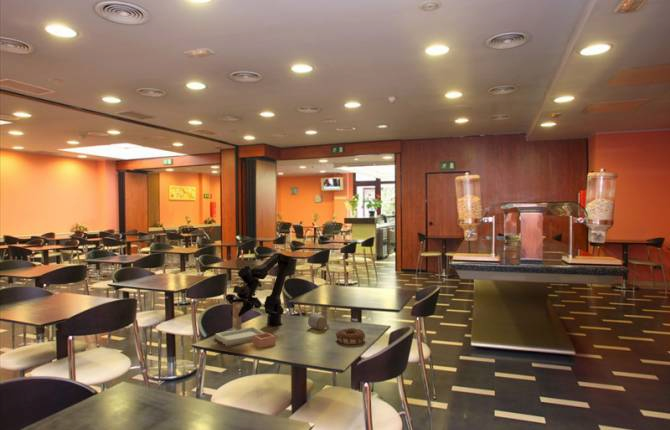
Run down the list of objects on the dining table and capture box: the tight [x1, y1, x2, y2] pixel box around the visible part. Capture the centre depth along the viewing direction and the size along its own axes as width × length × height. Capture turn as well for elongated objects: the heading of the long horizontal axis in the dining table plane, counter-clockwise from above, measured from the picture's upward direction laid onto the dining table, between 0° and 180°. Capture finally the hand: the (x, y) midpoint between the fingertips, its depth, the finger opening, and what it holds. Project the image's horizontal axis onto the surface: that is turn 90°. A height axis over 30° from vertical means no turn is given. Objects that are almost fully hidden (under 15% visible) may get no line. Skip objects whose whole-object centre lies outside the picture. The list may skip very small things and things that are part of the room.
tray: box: [215, 326, 266, 347], centre depth 204 cm, size 20×14×2 cm
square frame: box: [252, 332, 276, 349], centre depth 195 cm, size 8×8×4 cm
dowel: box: [232, 302, 242, 330], centre depth 201 cm, size 4×4×12 cm
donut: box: [335, 327, 366, 345], centre depth 201 cm, size 14×14×5 cm
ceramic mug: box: [307, 312, 330, 331], centre depth 222 cm, size 11×8×8 cm
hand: (235, 315), depth 200 cm, fingers closed on dowel, 4 cm apart
